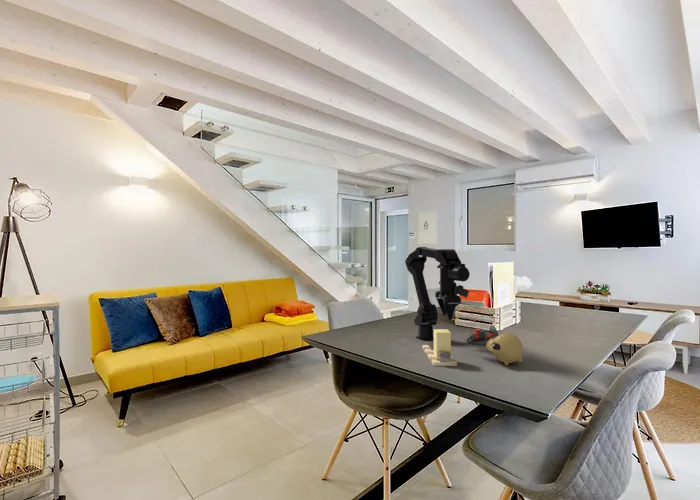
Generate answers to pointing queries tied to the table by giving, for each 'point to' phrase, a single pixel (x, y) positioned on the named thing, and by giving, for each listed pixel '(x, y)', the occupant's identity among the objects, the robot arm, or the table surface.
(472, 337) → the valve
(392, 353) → the table surface
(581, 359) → the table surface
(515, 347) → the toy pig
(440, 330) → the yellow square block
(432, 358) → the comb board
